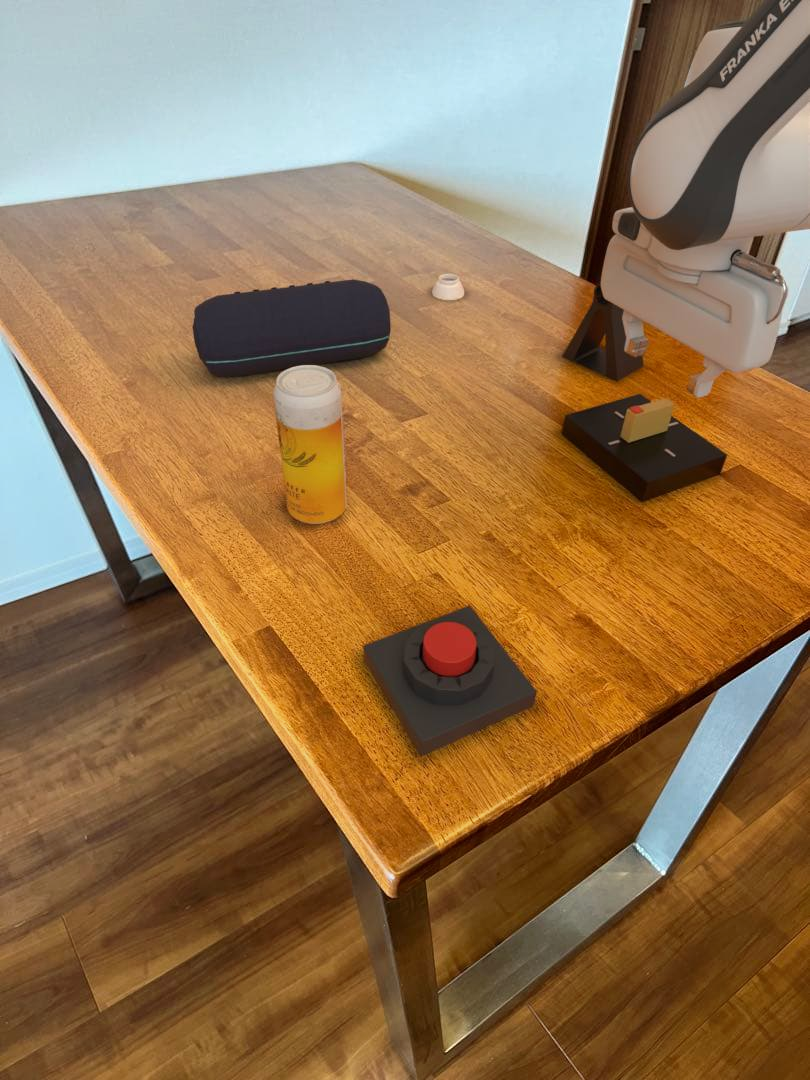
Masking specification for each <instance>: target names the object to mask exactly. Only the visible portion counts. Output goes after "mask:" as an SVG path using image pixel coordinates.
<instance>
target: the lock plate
mask: <svg viewBox="0 0 810 1080" xmlns="http://www.w3.org/2000/svg"><path fill="white" fill-rule="evenodd" d="M651 402H652V401H651V400H650V399H649V398H647V397H645V395H643V394H641V393H637V394H634V395H631V396H627V397H624V398H620V399H617V400H616V399H615V400H613V401H609V402H606V403H603V404H599V405H596V406H593V407H588V408H586V409H581V410H577V411H574V412H572V413H568V414H565V415H564V420H563V425H562V431H561V436H562V437H564V438H565V439H566V440H567V441H568V442H570V443H571V444H572V446H574V447H575V448H577V449H578V450H579V451H580V452H582V453H583V454H584V455H585V456H586V457H588V459H590V460H591V461H592V462H593V463H595V465H597V466H598V467H599V468H600V469H601V470H603V471H604V472H605V473H606V474H607V475H608V476H610V477H611V478H612V479H613V480H614V481H616V482H617V483H618V484H619V485H620V486H621V487H623V488H624V489H625V490H626V491H628V493H630V494H631V495H632V496H633V497H635V498H636V499H637V500H638V501H639V502H641V503H644V502H647V501H649V500H653V499H655V498H658V497H661V496H664V495H667V494H670V493H672V492H675V491H678V490H680V489H684V488H686V487H689V486H693V485H694V484H698V483H700V482H703V481H706V480H709V479H712V478H714V477H717V476H720V475H721V473H722V471H723V468H724V465H725V463H726V460H727V457H728V454H727V453H726V452H724V451H723V450H722V449H720V448H718V447H717V446H716V445H714V444H713V443H711V442H710V441H709V440H707V439H706V438H704V437H703V436H701V434H699V433H697V432H696V431H695V430H693V429H692V428H690V427H689V426H687V425H685V424H684V423H683V422H681V421H680V420H679V419H677V418H676V417H675V416H673V415H672V416H671V419H670V423H669V426H668V429H667V431H665V432H662V433H658V434H655V435H652V436H649V437H646V438H642V439H639V440H636V441H633V442H629V443H628V442H627V441H625V440H624V439H623V438H621V437H620V436H621V432H622V428H623V424H624V420H625V416H626V412H627V409H630V407H633V406H640V405H644V404H647V403H651Z"/></svg>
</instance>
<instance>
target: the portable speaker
mask: <svg viewBox="0 0 810 1080" xmlns="http://www.w3.org/2000/svg"><path fill="white" fill-rule="evenodd" d="M193 314H194V317H193V324H192V328H191V329H192V335H193V341H194V345H195V349H196V351H197V354H198V357H199V359H200V361H202V363H203V365H204V367H206V369H207V370H208V372H209V374H210V375H212V376H216V377H241V376H249V375H254V374H261V373H269V372H275V371H276V372H277V371H284V370H287V369H289V368H292V367H296V366H301V365H316V366H319V365H325V364H332V363H339V362H346V361H352V360H360V359H364V358H367V357H370V356H374V355H376V354H378V353H380V352H381V351H383V350H384V349H385V348H387V345H388V343H389V341H390V336H391V329H392V328H391V310H390V306H389V303H388V300H387V297H386V296H385V294H384V292H383V291H382V288H380V286H378V285H376V284H374V283H371V282H368V281H365V280H359V279H353V278H352V279H346V280H337V281H331V280H325V281H323V282H320V283H319V282H318V283H313V282H307V283H306V284H302V285H295V284H291V285H289V286H286V287H276V286H274V287H271V288H270V289H261V290H260V289H258V288H257V289H252V290H251V291H244V292H241V291H234V292H233V293H227V294H220V295H215V296H212V297H210V298H208V299H205V300H204V301H202V302H201V303H199V304H198V305H197V306H195V308H194V311H193Z"/></svg>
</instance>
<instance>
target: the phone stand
mask: <svg viewBox="0 0 810 1080" xmlns="http://www.w3.org/2000/svg"><path fill="white" fill-rule="evenodd" d="M623 311H624V310H623V309H622V308H620V307H618V306H617V305H615V304H613V303H611V302H610V301H608V300H606V299H605V298H604V296H603V293H602V289H601V281H600V282H598V283H597V284H596V286H595V287H594V289H593V298H592V302H591V304H590V306H589V308H588V310H587V312H586V313H585V316H584V317H583V319H582V320H581V322H580V324H579V326H578V327H577V329H576V330H575V333H574V334H573V336H572V338H571V340H570V342H569V343H568V345H567V347H566V349H565V350H564V351H563V353H562V355H561V357H562V358H564V359H566V360H569V361H571V362H573V363H575V364H578V365H580V366H582V367H584V368H586V369H588V370H591V371H593V372H595V373H598V374H600V375H602V376H604V377H606V378H608V379H611V380H613V381H616V382H620V381H621V380H623V379H624V378H627V377H628V376H630V375H632V374H633V373H635V372H637V371H638V370H640V369H641V368H644V357H643V355H644V354H643V355H642V356H637V357H633V356H631V355H630V354H628V353H627V352H625V351H624V347H625V343H626V338H627V337H626V335H625V330H624V325H623V320H622V316H623ZM603 339H604V340H605V349H604V348H602V347H601V346H600V345H601V343H602V341H603Z"/></svg>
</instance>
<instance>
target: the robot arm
mask: <svg viewBox="0 0 810 1080" xmlns="http://www.w3.org/2000/svg"><path fill="white" fill-rule="evenodd" d="M628 167H629V168H628V172H627V173H628V174H627V193H628V198H629V202H630V205H631V207H626V208H621V209H618V210H616V211H615V212H614V214H613V217H612V222H611V223H612V225H611V229H612V231H613V233H614V235H613V236H612V237H611V238H610V240H609V242H608V244H607V248H606V252H605V256H604V260H603V266H602V271H601V277H600V282H601V289H602V293H603V296H604V298H605V299H606V300H608V301H610V302H611V303H613V304H615V305H617V306H618V307H620V308H622V309H623V310H624V311H623V316H622V320H623V325H624V330H625V335H626V337H627V338H626V343H625V347H624V351H625V352H627V353H628V354H630V355H631V356H633V357H637V356H642V355H645V354H646V351H647V346H648V345H649V340H650V339H649V338H647V337H646V336H645V334H644V333H645V331H644V323H646V324H648V325H650V326H651V327H653V328H654V329H656V330H658V331H660V332H662V333H663V334H665V335H666V336H668V337H670V338H672V339H674V340H675V341H676V342H678V343H681V344H682V345H684V346H686V347H688V348H689V349H691V350H693V351H694V352H696V353H698V354H699V355H701V356H702V357H704V358H703V362H702V367H704V368H706V369H705V370H703V371H702V372H700V373H698V374H693V375H689V378H688V385H686V391H687V392H688V393H690V394H691V395H693V396H694V397H696V398H698V399H700V398H704V397H706V396H708V395H709V394H710V393H711V392H712V387H713V384H714V381H715V380H716V379H717V378H718V377H720V376H721V375H722V374H724V373H725V372H726V371H729V372H731V373H733V374H738V375H739V374H743V373H747V372H751V371H753V370H756V369H758V368H761V367H763V366H764V365H767V363H768V362H769V361H770V360H771V359H772V355H773V352H774V349H775V345H776V342H777V338H778V334H779V332H780V326H781V321H782V316H783V315H782V314H783V309H784V307H785V304H786V302H787V298H788V295H789V287H788V285H787V282H786V280H785V278H784V277H783V276H782V275H781V269H780V268H779V267H777V266H776V265H774V264H771V263H768V262H764V261H761V260H759V259H758V258H757V257H754V256H753V255H750V251H751V248H752V244H753V241H754V237H762V236H763V237H764V236H771V235H778V234H783V233H789V232H790V233H791V232H797V231H798V232H799V231H805V230H810V0H763V1H762V2H761V3H760V4H759V6H757V8H756V9H755V10H754V12H753V13H752V14H751V15H750V16H749V18H747V19H739V20H732V21H728V22H724V23H721V24H719V25H716V26H715V27H714V28H712V29H711V30H709V31H708V32H706V33H705V34H704V36H703V38H702V40H701V41H700V43H699V46H698V48H697V50H696V52H695V55H694V57H693V59H692V62H691V65H690V68H689V70H688V72H687V76H686V79H685V82H684V87H683V88H681V89H680V90H678V91H677V92H676V93H675V94H673V95H672V96H671V97H670V98H669V99H667V100H666V101H665V102H664V104H663V105H662V106H661V107H660V108H659V109H658V110H657V112H656V113H655V114H654V115H653V116H652V118H651V119H650V121H649V122H648V124H647V125H646V126H645V128H644V130H643V131H642V133H641V135H640V137H639V139H638V141H637V143H636V144H635V147H634V149H633V152H632V155H631V158H630V162H629V166H628Z"/></svg>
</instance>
